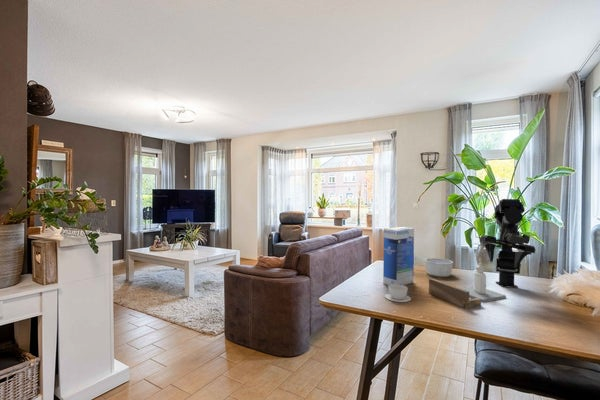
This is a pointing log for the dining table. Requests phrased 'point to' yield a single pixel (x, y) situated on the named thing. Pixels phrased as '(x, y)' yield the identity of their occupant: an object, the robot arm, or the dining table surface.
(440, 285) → the walnut stand
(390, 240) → the string lights box
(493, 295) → the grey mat
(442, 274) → the ramekin
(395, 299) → the teacup
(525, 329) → the dining table surface
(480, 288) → the eye dropper bottle
